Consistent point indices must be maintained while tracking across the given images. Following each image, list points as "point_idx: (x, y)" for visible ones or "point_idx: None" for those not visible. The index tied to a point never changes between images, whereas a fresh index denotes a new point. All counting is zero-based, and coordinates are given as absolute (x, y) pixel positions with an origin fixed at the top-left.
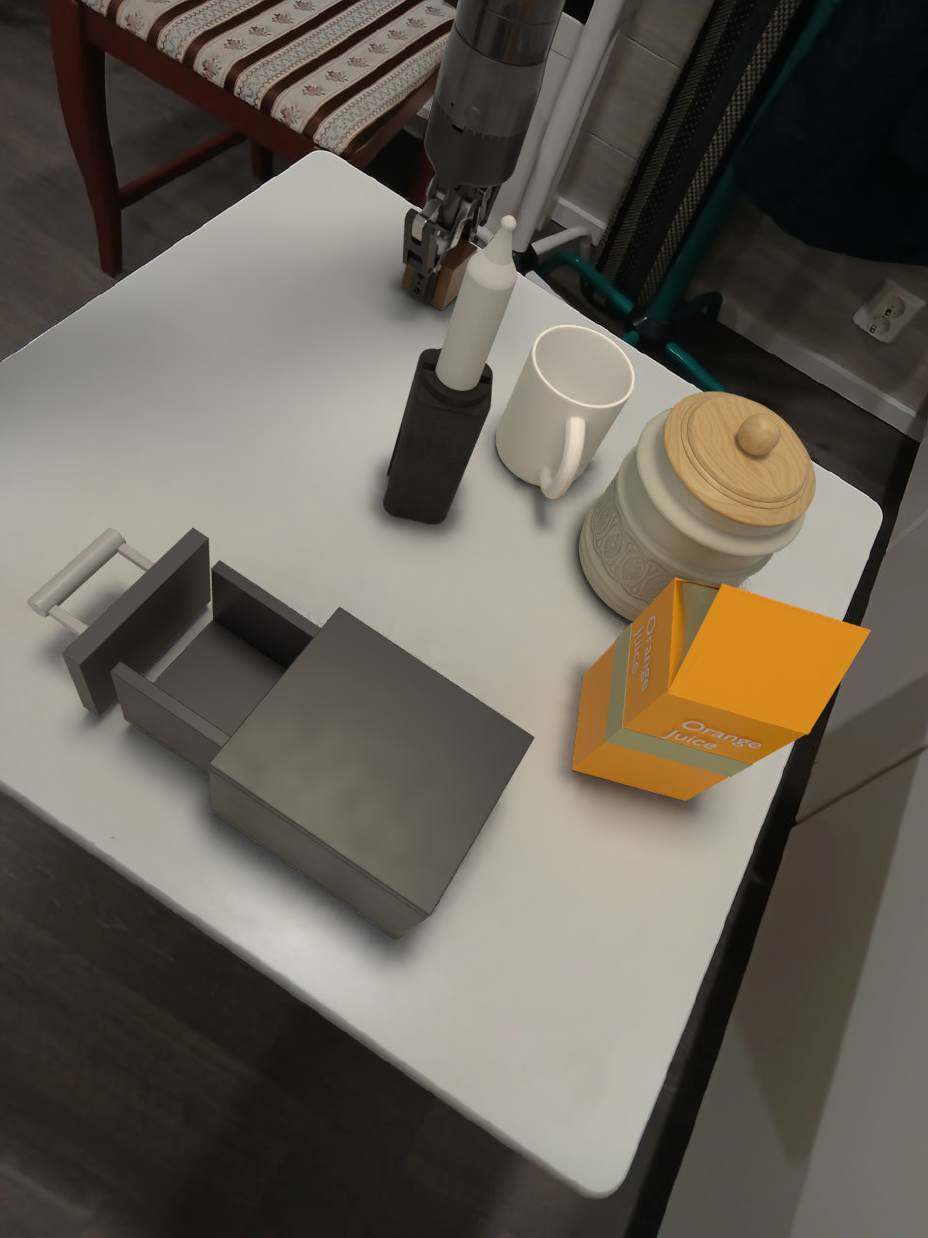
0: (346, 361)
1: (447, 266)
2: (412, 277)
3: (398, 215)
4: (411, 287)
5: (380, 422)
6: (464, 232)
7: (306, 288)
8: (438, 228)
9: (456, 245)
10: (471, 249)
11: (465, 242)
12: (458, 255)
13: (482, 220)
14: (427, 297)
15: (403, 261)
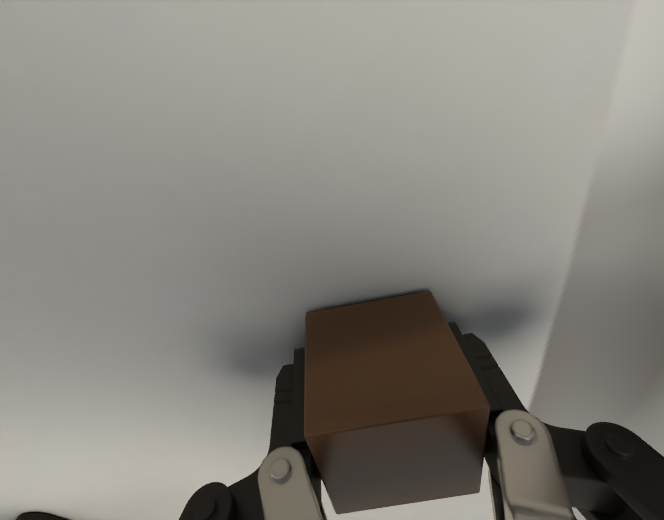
0: (43, 389)
1: (335, 504)
2: (292, 385)
3: (567, 90)
4: (277, 386)
5: (51, 473)
6: (497, 478)
7: (26, 194)
8: (456, 427)
9: (433, 475)
10: (454, 494)
11: (468, 476)
12: (400, 495)
13: (579, 510)
14: None
15: (188, 506)
